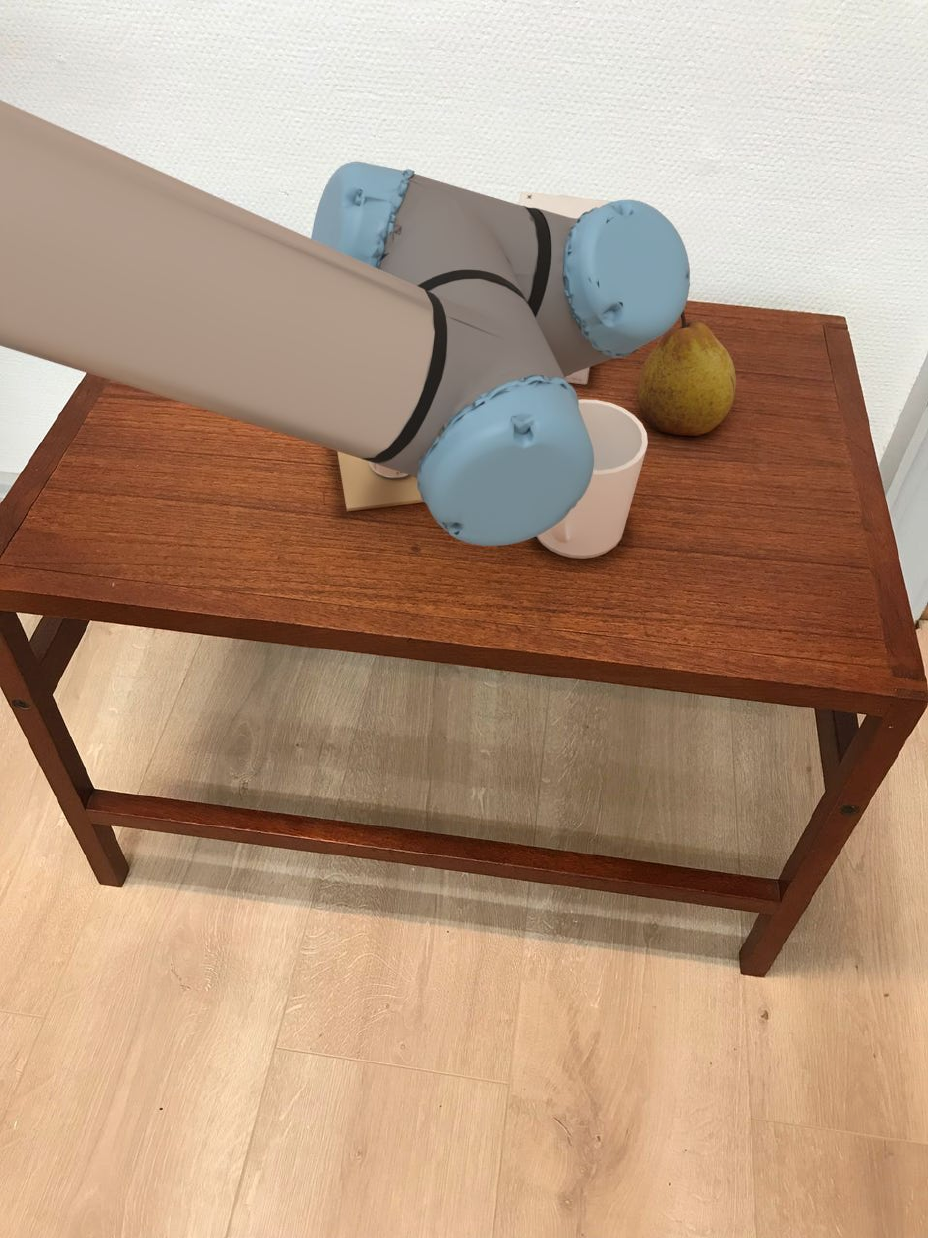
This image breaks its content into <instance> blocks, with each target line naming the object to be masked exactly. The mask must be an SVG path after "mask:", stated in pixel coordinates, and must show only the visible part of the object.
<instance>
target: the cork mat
mask: <svg viewBox="0 0 928 1238" xmlns="http://www.w3.org/2000/svg"><path fill="white" fill-rule="evenodd" d="M336 453H337V459H338V464H339V466H338V467H339V472H340V477H341V483H342V484H341V485H342V490H343V496H344V502H345V508H346V512H355V511H362V510H371V509H378V508H388V507H395V506H404V505H413V504H421V503H425V502H424V501H423V500H422V499H421V496H420V491H418V487H417V478H415V477H413V476H412V475H407V476H404V477H399V478H390V477H385V476H382V475H380V474H378V473H376V472H375V471H374V470H373V469H372V468H371V467H370V464H369V461H366V460H363V459H360V458H357V457H354V456H351V455H347V454H344V453H341V452H338V451H336Z"/></svg>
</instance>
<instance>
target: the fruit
mask: <svg viewBox="0 0 928 1238" xmlns="http://www.w3.org/2000/svg"><path fill="white" fill-rule="evenodd" d="M680 319H681V323H679V324H677V325H674V326H672V327H671V328H670V329H669V330H668V331H667V332H666V333H665V334H663V336H662V337H661V339H660V340H659V341H658V342H657V343H656V345H654V347H653V349H651V351H650V352H649V354H648V356H647V357H646V359H645V361H644V362H643V365H642V366H641V369H640V372H639V376H638V383H637V391H636V392H637V401H638V405H639V409H640V411H641V413H642V416H643V418H644V420H645V421H646V423H647V424H648V425H649V426H650V427H652V428H653V429H655V430H656V431H659V432H661V433H664V434H669V435H674V436H689V437H693V436H694V437H695V436H701V435H704V434H707V433H709V432H711V431H713V430H714V429H715V428H717V426H719V424H721V423H722V422H723V421H724V419H725V418H726V416H727V415H728V414H729V413H730V410H731V408H732V406H733V404H734V403H733V402H734V400H735V395H736V388H737V387H736V386H737V378H736V377H737V376H736V370H735V365H734V361H733V360H732V358H731V356H730V353H729V352H728V350H727V349H726V348H725V346H724V345H723V344H722V343H721V342H720V341H719V339H718V338H717V337H716V336H715V335H714V333H713V331H712V330H711V328H710V327H708V326H707V325H706V324H705V323H704V322H701V321H698V320H689V321H687V319H686V314H685V309H684V310H683V312H682V314H681V316H680Z"/></svg>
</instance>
